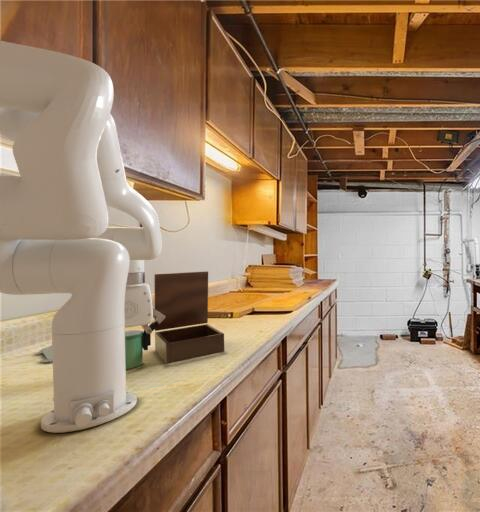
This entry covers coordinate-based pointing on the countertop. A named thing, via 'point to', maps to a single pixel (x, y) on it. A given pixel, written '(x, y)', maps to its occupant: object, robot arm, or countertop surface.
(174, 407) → the countertop surface
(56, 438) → the countertop surface
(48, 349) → the metal bracket
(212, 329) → the bin
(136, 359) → the pot
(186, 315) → the bin lid
